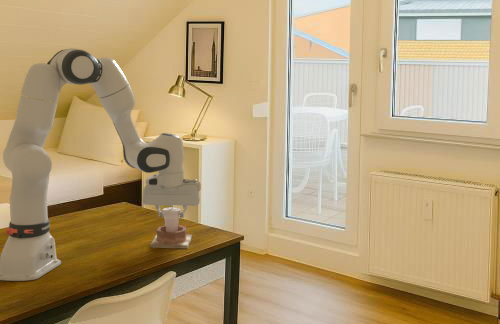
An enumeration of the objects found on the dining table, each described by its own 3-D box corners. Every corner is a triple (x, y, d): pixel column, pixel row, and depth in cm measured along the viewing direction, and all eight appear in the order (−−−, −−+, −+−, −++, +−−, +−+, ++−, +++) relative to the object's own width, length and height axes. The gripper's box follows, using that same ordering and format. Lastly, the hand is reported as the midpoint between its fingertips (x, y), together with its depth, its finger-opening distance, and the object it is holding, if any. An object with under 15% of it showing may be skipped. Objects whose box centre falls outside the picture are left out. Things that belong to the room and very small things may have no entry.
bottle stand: (187, 248, 214) (187, 234, 214) (150, 247, 215) (150, 233, 214) (191, 237, 227) (191, 224, 226) (156, 236, 228) (156, 223, 227)
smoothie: (183, 234, 223) (183, 196, 220) (176, 239, 217) (176, 200, 214) (167, 232, 225) (167, 194, 222) (159, 237, 219) (159, 198, 216)
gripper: (201, 177, 220) (201, 215, 222) (144, 176, 220) (145, 214, 223) (199, 181, 214) (199, 219, 216) (141, 180, 214) (141, 218, 217)
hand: (171, 217), depth 219 cm, fingers closed on smoothie, 6 cm apart
